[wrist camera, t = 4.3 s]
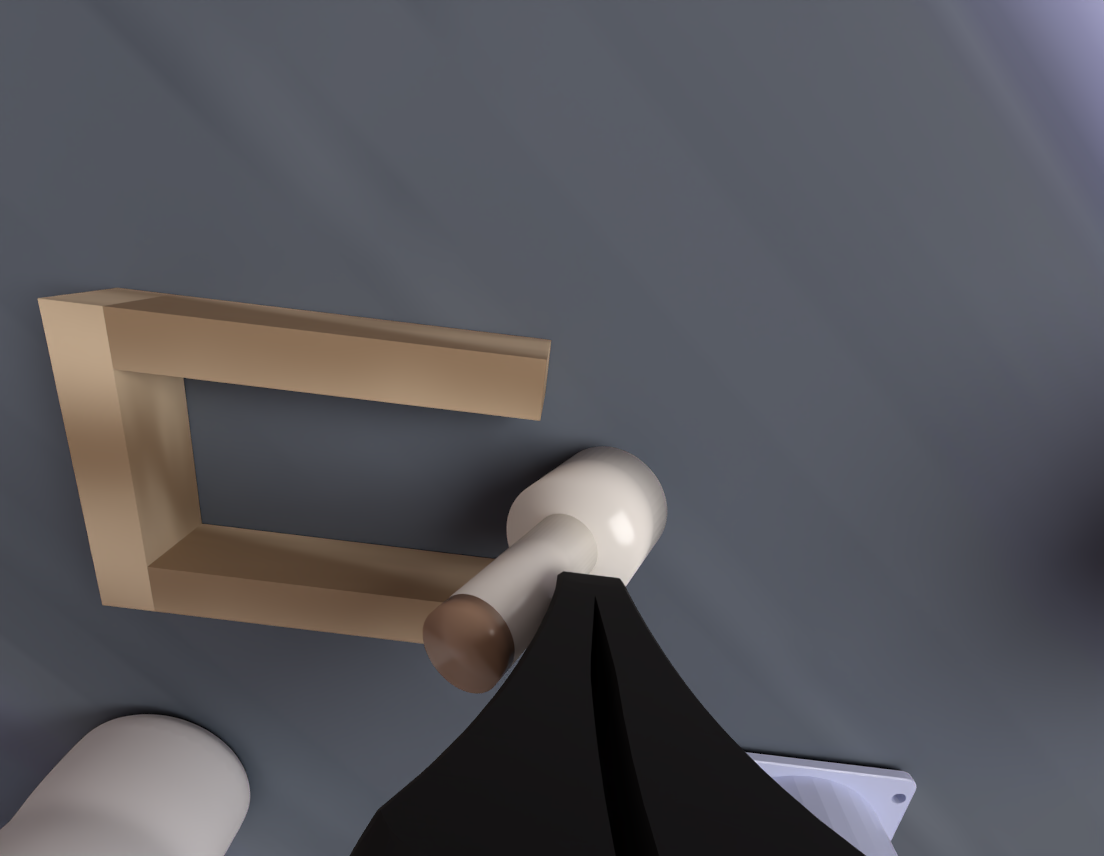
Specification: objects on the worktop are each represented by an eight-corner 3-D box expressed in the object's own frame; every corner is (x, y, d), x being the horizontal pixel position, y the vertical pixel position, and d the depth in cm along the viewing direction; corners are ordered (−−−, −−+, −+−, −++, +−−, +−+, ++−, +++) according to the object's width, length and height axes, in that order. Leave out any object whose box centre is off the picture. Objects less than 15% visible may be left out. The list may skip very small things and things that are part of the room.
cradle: (521, 601, 19) (513, 654, 17) (161, 558, 19) (102, 604, 17) (551, 340, 16) (547, 360, 13) (117, 288, 16) (37, 298, 13)
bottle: (655, 574, 17) (533, 768, 10) (550, 534, 18) (386, 682, 12) (677, 465, 15) (555, 609, 9) (564, 432, 17) (388, 536, 10)
